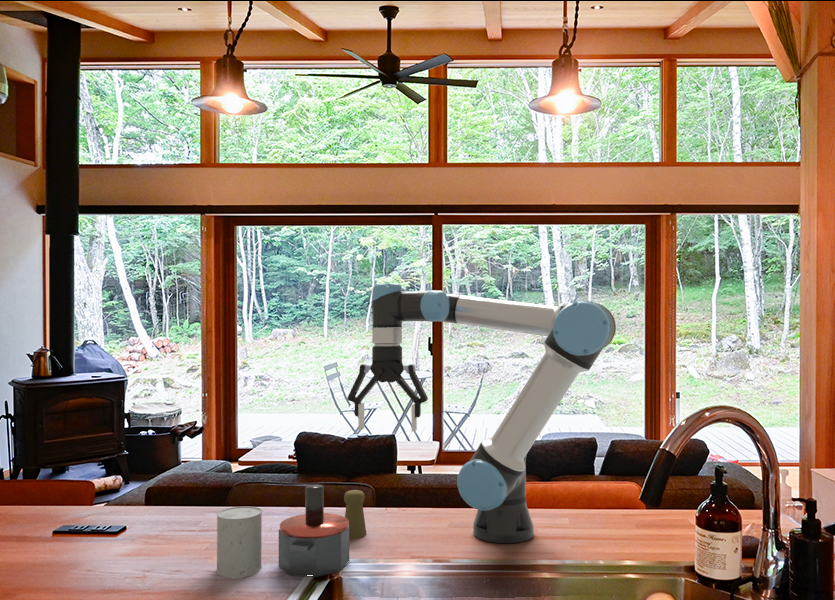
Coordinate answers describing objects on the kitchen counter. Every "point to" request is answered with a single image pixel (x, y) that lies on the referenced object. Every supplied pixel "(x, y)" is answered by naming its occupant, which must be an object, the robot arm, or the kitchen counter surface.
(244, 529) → the grey concrete cylinder
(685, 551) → the kitchen counter surface
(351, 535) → the olive pepper mill
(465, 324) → the robot arm
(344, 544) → the pot
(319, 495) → the lid
